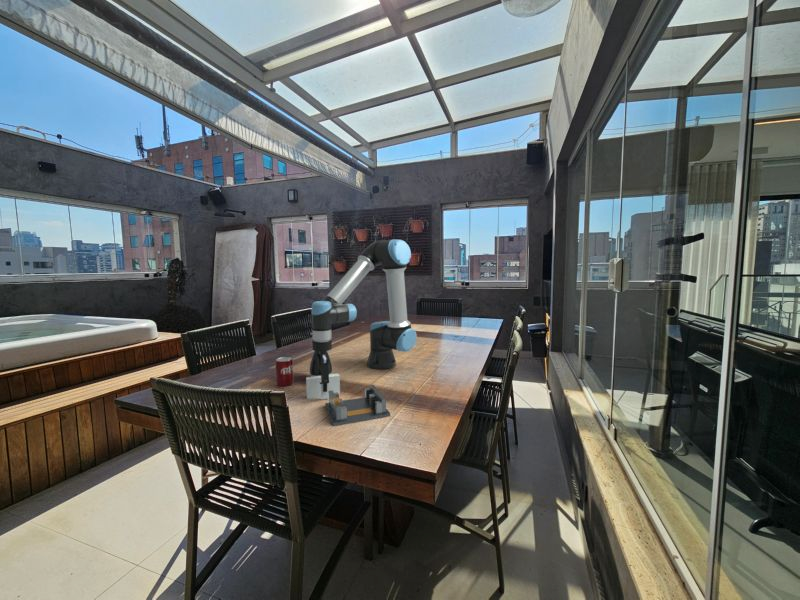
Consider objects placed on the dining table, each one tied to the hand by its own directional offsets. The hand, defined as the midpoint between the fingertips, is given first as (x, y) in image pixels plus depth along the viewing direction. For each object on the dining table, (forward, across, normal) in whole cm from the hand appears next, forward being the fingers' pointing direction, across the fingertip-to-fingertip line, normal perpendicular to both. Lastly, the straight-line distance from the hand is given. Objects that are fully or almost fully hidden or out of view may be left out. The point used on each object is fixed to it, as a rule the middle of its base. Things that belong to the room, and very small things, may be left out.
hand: (323, 394), depth 137 cm
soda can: (+1, -17, -14) cm, 22 cm away
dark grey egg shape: (0, -19, +2) cm, 19 cm away
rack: (0, +19, +9) cm, 21 cm away
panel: (0, 0, 0) cm, 0 cm away
